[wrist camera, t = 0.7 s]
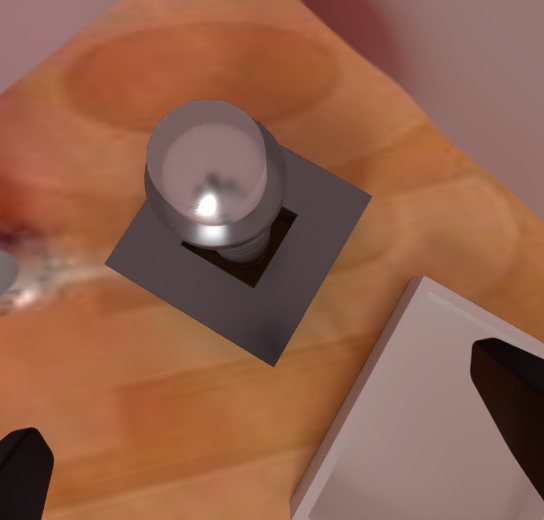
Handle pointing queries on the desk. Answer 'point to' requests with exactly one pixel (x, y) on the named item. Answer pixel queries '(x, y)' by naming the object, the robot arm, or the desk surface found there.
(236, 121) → the steel pin
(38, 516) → the robot arm
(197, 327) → the desk surface
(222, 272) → the hitch block
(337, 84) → the desk surface
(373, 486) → the tray
